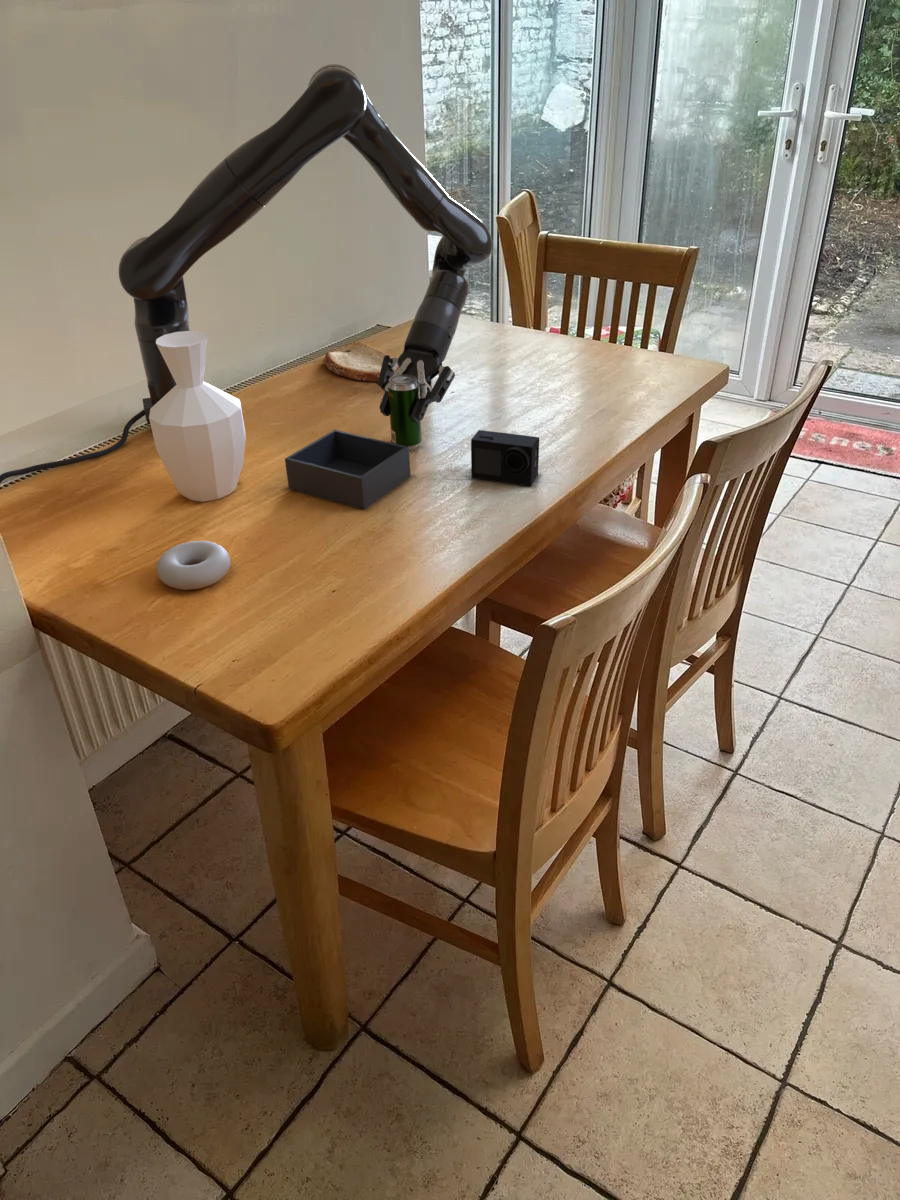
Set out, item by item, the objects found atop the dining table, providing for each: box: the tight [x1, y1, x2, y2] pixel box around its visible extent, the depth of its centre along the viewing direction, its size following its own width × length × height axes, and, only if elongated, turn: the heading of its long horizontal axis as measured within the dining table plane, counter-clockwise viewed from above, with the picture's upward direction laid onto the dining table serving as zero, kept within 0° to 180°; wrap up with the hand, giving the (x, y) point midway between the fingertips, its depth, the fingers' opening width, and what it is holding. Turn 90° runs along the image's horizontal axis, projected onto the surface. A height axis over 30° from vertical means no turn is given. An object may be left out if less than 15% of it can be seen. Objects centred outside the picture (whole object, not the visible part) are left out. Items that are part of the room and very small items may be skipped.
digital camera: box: [470, 429, 540, 487], centre depth 145 cm, size 10×5×7 cm, turn 70°
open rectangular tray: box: [284, 429, 411, 510], centre depth 146 cm, size 13×15×5 cm
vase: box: [149, 330, 247, 503], centre depth 140 cm, size 14×14×25 cm
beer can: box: [388, 374, 423, 451], centre depth 156 cm, size 5×5×12 cm
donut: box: [156, 540, 231, 591], centre depth 124 cm, size 10×4×10 cm
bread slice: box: [323, 341, 399, 383], centre depth 192 cm, size 18×18×4 cm
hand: (399, 417), depth 155 cm, fingers open, 5 cm apart
